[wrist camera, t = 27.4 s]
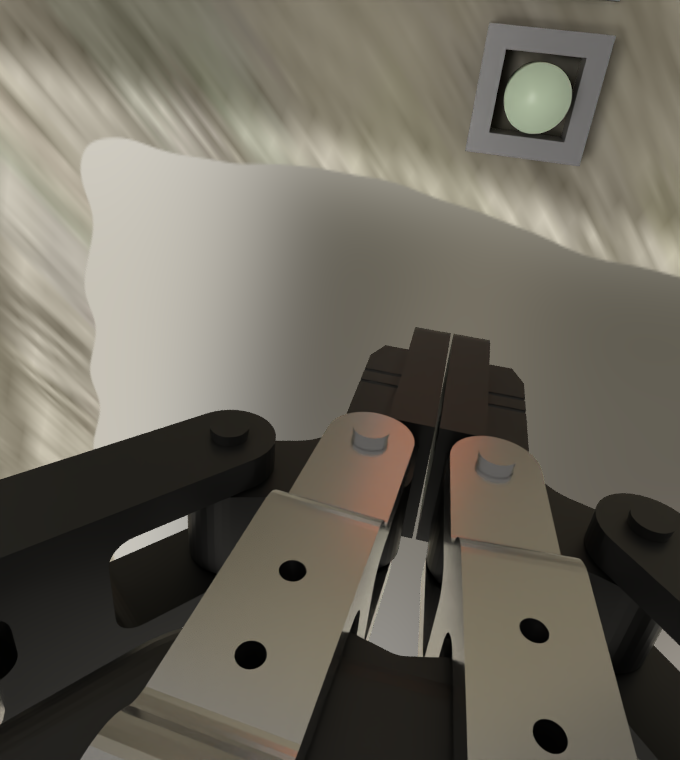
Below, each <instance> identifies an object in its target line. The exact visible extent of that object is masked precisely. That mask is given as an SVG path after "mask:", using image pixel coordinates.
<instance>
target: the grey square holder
mask: <svg viewBox="0 0 680 760" xmlns="http://www.w3.org/2000/svg"><path fill="white" fill-rule="evenodd" d="M615 38H616V36H614V35H604V34H595V33H585V32H575V31H566V30H556V29H546V28H537V27H527V26H517V25H508V24H498V23H489V27H488V32H487V38H486V43H485V48H484V54H483V59H482V64H481V70H480V75H479V80H478V86H477V91H476V96H475V102H474V107H473V112H472V118H471V123H470V128H469V134H468V139H467V144H466V150H465V151H471V152H478V153H485V154H493V155H500V156H508V157H515V158H522V159H530V160H537V161H545V162H552V163H559V164H567V165H574V166H580V162H581V159H582V155H583V152H584V148H585V144H586V141H587V137H588V134H589V130H590V127H591V123H592V120H593V116H594V112H595V109H596V105H597V102H598V98H599V95H600V91H601V88H602V84H603V80H604V77H605V73H606V70H607V66H608V63H609V59H610V56H611V52H612V48H613V45H614V41H615ZM506 49H509V50H518V51H527V52H536V53H545V54H554V55H563V56H573V57H581V61H580V65H579V68H578V72H577V76H576V80H575V84H574V88H573V91H572V99H571V104H570V107H569V109H568V112H567V114H566V118H565V122H564V126H563V130H562V134H561V137H559V136H551V135H543V134H529V133H524V132H520V131H512V130H505V129H497V128H490V125H491V121H492V116H493V111H494V106H495V101H496V96H497V91H498V86H499V81H500V76H501V71H502V67H503V62H504V57H505V52H506Z"/></svg>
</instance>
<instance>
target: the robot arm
mask: <svg viewBox="0 0 680 760" xmlns="http://www.w3.org/2000/svg"><path fill="white" fill-rule="evenodd" d="M449 341H450V333H445V332H440V331H434V330H429V329H423V328H418V327H416V328H415V330H414V334H413V337H412V341H411V344H410V347H409V350H408V349H402V348H397V347H392V346H386V345H385V346H384V347H382V348H381V349H379V350H377V351H376V352H374V353H373V354H371V355H370V358H369V360H368V363H367V365H366V368H365V370H364V372H363V375H362V377H361V381H360V382H359V385H358V387H357V390H356V392H355V395H354V397H353V399H352V402H351V404H350V407H349V409H348V412H347V414H345V415H342V416H340V417H338V418H336V419H335V420H333V421H332V422H331V423H330V425H329V426H328V428H327V429H326V431H325V433H324V434H323V436H322V437H321V438H317V439H313V440H306V441H275V438H276V434H275V430H274V428H273V427H272V426H271V424H270V423H269V422H268V421H267V420H265V419H264V418H262V417H260V416H258V415H256V414H253V413H250V412H246V411H239V410H221V411H215V412H211V413H207V414H204V415H201V416H198V417H195V418H191V419H188V420H185V421H182V422H179V423H176V424H173V425H170V426H167V427H164V428H160V429H157V430H154V431H151V432H148V433H144V434H141V435H139V436H135V437H132V438H129V439H126V440H123V441H120V442H116V443H113V444H110V445H107V446H104V447H101V448H98V449H94V450H91V451H88V452H85V453H82V454H79V455H76V456H73V457H69V458H66V459H63V460H60V461H57V462H54V463H51V464H48V465H44V466H41V467H38V468H35V469H32V470H29V471H26V472H23V473H19V474H16V475H13V476H10V477H7V478H4V479H1V480H0V760H680V672H679V671H678V670H677V668H675V667H674V665H673V664H672V663H670V661H669V660H668V659H667V658H666V657H665V656H664V655H663V654H662V653H661V652H659V650H658V649H657V648H656V647H655V646H654V643H655V641H656V640H657V637H658V636H659V634H660V632H661V630H662V629H663V630H664V631H666V632H667V634H669V636H671V637H672V638H673V639H674V640H675V641H676V642H677V643H678V644H679V645H680V513H678V512H677V511H675V510H674V509H672V508H670V507H669V506H667V505H665V504H663V503H661V502H658V501H656V500H653V499H651V498H648V497H644V496H641V495H635V494H626V493H621V494H613V495H609V496H606V497H604V498H603V499H602V500H600V501H599V503H598V504H597V506H596V509H593V508H590V507H588V506H585V505H583V504H581V503H578V502H576V501H574V500H571V499H569V498H567V497H565V496H563V495H561V494H560V493H558V492H556V491H554V490H553V489H552V488H550V487H549V486H547V485H546V484H545V482H544V477H543V473H542V469H541V466H540V464H539V463H538V461H537V460H536V459H535V458H534V456H533V455H531V454H530V453H529V448H528V434H527V420H526V414H525V411H526V408H525V401H524V400H525V394H524V383H523V382H522V381H521V379H520V378H519V377H518V376H517V375H516V373H515V372H514V371H513V369H510V368H505V367H500V366H494V365H489V358H490V341H489V340H485V339H479V338H473V337H468V336H463V335H457V334H454V335H453V339H452V344H451V349H450V353H449V358H448V363H447V368H446V373H445V377H444V371H445V365H446V358H447V353H448V347H449ZM443 377H444V383H443ZM442 383H443V387H442ZM441 390H442V392H441ZM440 396H441V397H440ZM430 450H431V451H430ZM429 455H430V457H429ZM428 460H429V464H428ZM427 465H428V469H427ZM426 469H427V475H426V481H425V488H424V493H423V499H422V505H421V512H420V518H419V523H418V529H417V536H416V539H417V540H422V541H426V542H428V549H427V556H426V560H425V564H424V568H423V573H422V578H421V592H420V593H421V595H420V616H419V637H418V638H419V639H418V657H408V656H399V655H396V654H393V653H390V652H389V651H386V650H384V649H383V648H381V647H379V646H377V645H375V644H373V643H371V642H369V638H370V635H371V631H372V628H373V625H374V622H375V618H376V615H377V612H378V609H379V605H380V602H381V599H382V596H383V592H384V590H385V586H386V583H387V580H388V577H389V573H390V568H391V563H392V560H393V559H394V557H395V556H396V554H397V552H398V549H399V544H400V538H401V536H404V537H408V538H412V536H413V531H414V526H415V522H416V517H417V512H418V507H419V503H420V498H421V493H422V488H423V484H424V479H425V474H426ZM186 515H188V529H185V530H183V531H181V532H179V533H176V534H174V535H172V536H169V537H167V538H165V539H162V540H160V541H158V542H155V543H153V544H151V545H148V546H146V547H144V548H142V549H139V550H137V551H135V552H132V553H130V554H128V555H125V556H123V557H121V558H119V559H116V560H114V561H111V562H110V559H111V557H112V555H113V554H114V552H115V551H116V550H117V549H118V548H119V547H120V546H121V545H122V544H123V543H125V542H126V541H128V540H129V539H132V538H134V537H136V536H138V535H141V534H143V533H145V532H148V531H150V530H153V529H155V528H157V527H160V526H162V525H165V524H167V523H169V522H172V521H174V520H176V519H179V518H181V517H184V516H186ZM182 627H183V628H182Z"/></svg>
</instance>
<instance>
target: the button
mask: <svg viewBox="0 0 680 760" xmlns="http://www.w3.org/2000/svg"><path fill="white" fill-rule="evenodd" d="M571 99H572V88H571V84H570V81H569V79H568V77H567V75H566V74H565V73H564V72H563V71H562V70H561V69H560V68H559V67H557V66H555V65H553V64H550V63H547V62H543V61H535V62H530V63H527V64H525V65H523V66H521V67H520V68H519V69H517V70H516V71H515V72H514V73H513V74H512V76H511V77H510V79H509V80H508V82H507V85H506V87H505V91H504V108H505V113H506V116H507V118H508V120H509V121H510V123H511V124H512V125H513V126H514V127H515V128H516V129H518V130H520V131H522V132H524V133H529V134H538V133H543V132H546V131H548V130H550V129H552V128H553V127H555V126H556V125H557V124H559V123H560V122H561V120H562V119H563V118H564V117H565V115H566V113H567V112H568V109H569V107H570V104H571Z"/></svg>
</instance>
